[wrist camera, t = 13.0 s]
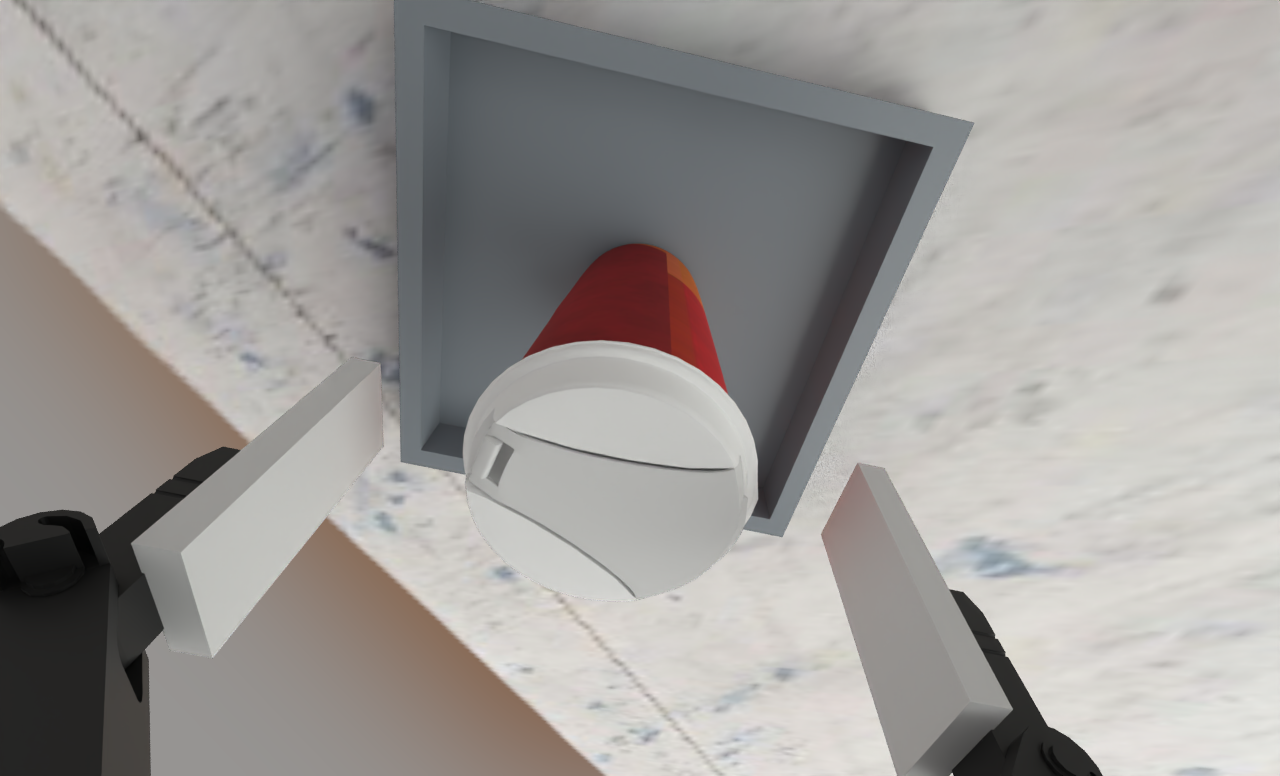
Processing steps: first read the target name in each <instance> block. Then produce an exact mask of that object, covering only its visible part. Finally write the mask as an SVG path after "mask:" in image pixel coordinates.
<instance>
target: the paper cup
mask: <svg viewBox="0 0 1280 776" xmlns="http://www.w3.org/2000/svg"><path fill="white" fill-rule="evenodd" d="M463 461H464V470H465V474H466V481H465V488H466V496H467V502H468V505H469V508H470V512H471V515H472V518H473V521H474V523H475V524H476V526H477V528H478V530H479V532H480V534H481V536H482V537H483V538H484V540H485V541H486V542H487V544H488V545H489V546H490V548H491V549H492V550H493V551H494V552H495V553H496V554H497V555H498V556H499V557H500V558H501V559H502V560H503V561H504V562H505V563H506V564H508V565H509V566H510V567H512V568H513V569H514V570H516V571H517V572H518V573H520V574H521V575H523V576H525V577H526V578H528V579H530V580H532V581H533V582H535V583H537V584H539V585H542V586H544V587H546V588H549V589H551V590H553V591H556V592H560V593H563V594H566V595H569V596H573V597H578V598H583V599H588V600H597V601H608V602H619V601H635V600H637V599H638V600H640V599H644V598H647V597H651V596H654V595H658V594H662V593H665V592H667V591H670V590H673V589H676V588H679V587H682V586H683V585H685V584H687V583H689V582H691V581H693V580H695V579H697V578H698V577H699V576H701V575H702V574H703V573H704V572H706V571H707V570H708V569H710V567H711V566H712V565H713V564H715V563H716V562H718V561H719V560H720V559H721V558H723V557H724V556H725V555H726V554H727V552H728V551H729V550H730V549H731V548H732V547H733V545H734V544H735V543H736V541H737V540H738V538H739V536H740V535H741V533H742V531H743V528H744V525H745V524H746V522H747V521H748V519H749V518H750V517H751V515H752V512H753V510H754V508H755V505H756V503H757V501H758V458H757V453H756V448H755V442H754V439H753V436H752V434H751V431H750V428H749V426H748V423H747V421H746V419H745V418H744V416H743V414H742V413H741V411H740V410H739V408H738V407H737V405H736V403H735V402H734V401H733V400H732V399H731V397H730V396H729V395H728V392H727V388H726V385H725V381H724V378H723V374H722V371H721V367H720V363H719V360H718V356H717V353H716V349H715V346H714V342H713V339H712V335H711V332H710V328H709V325H708V321H707V318H706V314H705V311H704V308H703V304H702V301H701V298H700V295H699V292H698V289H697V286H696V284H695V282H694V280H693V277H692V276H691V274H690V272H689V271H688V269H687V268H686V267H685V266H684V264H683V263H682V262H681V261H680V260H679V259H678V258H676V257H675V256H674V255H672V254H671V253H669V252H668V251H666V250H664V249H661V248H659V247H656V246H653V245H648V244H627V245H622V246H618V247H616V248H613V249H611V250H609V251H607V252H605V253H604V254H602V255H601V256H599V257H598V258H597V259H596V260H595V261H594V262H593V263H592V264H591V265H590V266H589V267H588V268H587V270H586V271H585V272H584V273H583V275H582V276H581V277H580V278H579V280H578V281H577V283H576V284H575V285H574V287H573V288H572V289H571V291H570V292H569V293H568V295H567V296H566V297H565V298H564V300H563V301H562V302H561V304H560V305H559V306H558V308H557V309H556V311H555V312H554V314H553V315H552V317H551V319H550V320H549V322H548V323H547V324H546V326H545V327H544V329H543V330H542V332H541V333H540V334H539V336H538V337H537V339H536V340H535V341H534V343H533V344H532V346H531V347H530V349H529V350H528V351H527V353H526V354H525V356H524V357H523V359H522V360H521V361H519V362H517V363H516V364H514V365H512V366H510V367H509V368H508V369H506V370H505V371H504V372H503V373H502V374H501V375H499V376H498V377H497V378H496V379H495V380H494V381H492V382H491V384H490V385H489V386H488V387H487V389H486V390H485V391H484V392H483V394H482V395H481V396H480V397H479V399H478V401H477V403H476V405H475V407H474V408H473V410H472V412H471V414H470V416H469V419H468V423H467V426H466V430H465V433H464V442H463Z"/></svg>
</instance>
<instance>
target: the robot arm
mask: <svg viewBox="0 0 1280 776" xmlns="http://www.w3.org/2000/svg"><path fill="white" fill-rule="evenodd" d="M383 446H384V444H383V415H382V387H381V363H378V362H373V361H368V360H364V359H359V358H354V357H351V358H350V359H349V360H347V361H346V362H345V363H344V364H343V365H341V366H340V367H339V368H338V369H337V370H336V371H334V372H333V373H332V374H331V375H330V376H328V377H327V378H326V379H325V380H324V381H322V382H321V383H320V384H319V385H318V386H317V387H315V388H314V389H313V390H312V391H311V392H309V393H308V394H307V395H306V396H305V397H304V398H302V399H301V400H300V401H299V402H298V403H296V404H295V405H294V406H293V407H292V408H291V409H289V410H288V411H287V412H286V413H285V414H283V415H282V416H281V417H280V418H279V419H278V420H276V421H275V422H274V423H273V424H272V425H270V426H269V427H268V428H267V429H266V430H264V431H263V432H262V433H261V434H260V435H259V436H257V437H256V438H255V439H254V440H253V441H251V442H250V443H249V444H248V445H247V446H246V447H244V448H243V449H242V450H238V449H232V448H227V447H221V448H219V449H217V450H215V451H212V452H210V453H208V454H205V455H203V456H201V457H199V458H196V459H194V460H193V461H192V462H191V463H189V464H188V465H187V466H186V467H184V468H183V469H182V470H181V471H179V472H178V473H177V474H175V475H174V477H173V479H172V480H171V479H169V480H168V481H166V482H165V483H164V484H163V485H161V486H160V487H159V488H157V489H156V492H155V493H154V494H152V493H151V494H150V495H149V496H147V497H146V498H145V499H143V500H142V501H141V502H140V503H138V504H137V505H136V506H135V507H133V508H132V509H131V510H129V511H128V512H127V513H125V514H124V515H123V516H122V517H120V518H119V519H118V520H117V521H115V522H114V523H113V524H112V525H110V526H109V527H108V528H106V529H105V530H104V531H102V532H101V533H100V534H99V533H98V531H97V528H96V526H95V523H94V521H93V518H92V517H90V516H88V515H86V514H84V513H82V512H79V511H69V510H57V511H48V512H40V513H37V514H33V515H30V516H26V517H23V518H19V519H16V520H14V521H12V522H10V523H8V524H6V525H4V526H2V527H0V776H151V769H150V768H151V767H150V712H149V660H148V657H147V654H146V651H145V649H146V648H147V646H148V645H149V644H150V643H151V642H152V641H153V640H154V639H155V638H156V637H157V636H158V635H159V634H160V633H161V632H162V631H163V633H164V636H165V639H166V641H167V644H168V647H169V650H170V651H176V652H181V653H187V654H192V655H198V656H203V657H209V658H213V657H214V656H215V655H216V653H217V652H218V651H219V650H220V648H221V647H222V645H224V643H225V642H226V641H227V640H228V638H229V637H230V636H231V635H232V633H233V632H234V631H235V630H236V629H237V627H238V626H239V625H240V624H241V622H242V621H243V620H244V619H245V617H246V616H247V615H248V614H249V612H250V611H251V610H252V609H253V607H254V606H255V605H256V604H257V602H258V601H259V600H260V599H261V598H262V596H263V595H264V594H265V592H266V591H267V590H268V589H269V587H270V586H271V585H272V584H273V583H274V581H275V580H276V579H277V578H278V576H279V575H280V574H281V573H282V572H283V570H284V569H285V568H286V567H287V565H288V564H289V563H290V562H291V560H292V559H293V558H294V557H295V555H296V554H297V553H298V552H299V550H300V549H301V548H302V547H303V545H304V544H305V543H306V542H307V541H308V539H309V538H310V537H311V536H312V534H313V533H314V532H315V531H316V529H317V528H318V527H319V526H320V524H321V523H322V522H323V521H324V519H325V518H326V517H327V516H328V514H329V513H330V512H331V511H332V510H333V508H334V507H335V506H336V505H337V503H338V502H339V501H340V500H341V498H342V497H343V496H344V495H345V493H346V492H347V491H348V490H349V488H350V487H351V486H352V485H353V483H354V482H355V481H356V480H357V479H358V477H359V476H360V475H361V474H362V472H363V471H364V470H365V469H366V467H367V466H368V465H369V464H370V462H371V461H372V460H373V459H374V457H375V456H376V455H377V454H378V452H379V451H380V450H381V449H382V448H383ZM821 536H822V539H823V542H824V545H825V548H826V552H827V555H828V558H829V561H830V564H831V567H832V571H833V574H834V577H835V580H836V583H837V586H838V590H839V593H840V596H841V599H842V602H843V605H844V609H845V612H846V615H847V618H848V621H849V624H850V628H851V631H852V634H853V637H854V640H855V643H856V647H857V650H858V653H859V656H860V659H861V662H862V666H863V669H864V672H865V675H866V678H867V681H868V685H869V688H870V691H871V694H872V697H873V700H874V704H875V707H876V710H877V713H878V716H879V719H880V723H881V726H882V729H883V732H884V735H885V738H886V742H887V745H888V748H889V751H890V754H891V757H892V761H893V764H894V767H895V770H896V773H897V776H949V775H950V774H951V773H953V775H954V776H1102V774H1101V772H1100V770H1099V768H1098V767H1097V765H1096V764H1095V763H1094V762H1093V760H1092V759H1091V758H1090V757H1089V756H1088V754H1087V753H1086V752H1085V751H1084V750H1083V749H1082V748H1081V747H1079V746H1078V745H1077V744H1076V743H1075V742H1074V741H1073V740H1071V739H1070V738H1069V737H1067V736H1066V735H1064V734H1062V733H1060V732H1059V731H1057V730H1055V729H1054V728H1050V727H1048V726H1047V724H1046V722H1045V721H1044V719H1043V717H1042V715H1041V714H1040V712H1039V710H1038V708H1037V707H1036V705H1035V703H1034V701H1033V700H1032V698H1031V696H1030V694H1029V693H1028V691H1027V689H1026V688H1025V686H1024V684H1023V682H1022V681H1021V679H1020V677H1019V675H1018V674H1017V672H1016V670H1015V668H1014V667H1013V665H1012V663H1011V661H1010V660H1009V658H1008V657H1006V656H1005V651H1004V649H1003V647H1002V646H1001V644H1000V642H999V640H998V639H995V633H994V632H993V630H992V628H991V626H990V625H989V623H988V621H987V619H986V618H985V616H984V614H983V613H982V612H981V611H980V609H979V608H978V607H977V606H976V605H975V604H974V603H973V602H972V601H971V600H970V599H969V598H968V597H967V596H966V595H965V593H964V592H960V591H955V590H950V589H949V588H948V587H947V585H946V583H945V581H944V579H943V577H942V575H941V573H940V572H939V570H938V568H937V566H936V564H935V562H934V560H933V558H932V557H931V555H930V553H929V551H928V549H927V547H926V545H925V543H924V542H923V540H922V538H921V536H920V534H919V532H918V530H917V528H916V527H915V525H914V523H913V521H912V519H911V517H910V515H909V513H908V512H907V510H906V508H905V506H904V504H903V502H902V500H901V498H900V497H899V495H898V493H897V491H896V489H895V487H894V485H893V483H892V482H891V480H890V478H889V476H888V474H887V472H886V470H885V468H881V467H876V466H872V465H867V464H862V463H857V465H856V467H855V469H854V471H853V473H852V475H851V477H850V479H849V481H848V483H847V485H846V487H845V488H844V490H843V492H842V494H841V496H840V498H839V500H838V502H837V504H836V506H835V508H834V510H833V512H832V514H831V516H830V518H829V520H828V522H827V524H826V526H825V527H824V529H823V531H822V533H821Z"/></svg>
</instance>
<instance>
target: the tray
mask: <svg viewBox="0 0 1280 776" xmlns="http://www.w3.org/2000/svg"><path fill="white" fill-rule="evenodd" d="M394 37H395V105H396V173H397V240H398V308H399V375H400V443H401V462H404V463H409V464H414V465H419V466H424V467H429V468H434V469H439V470H444V471H449V472H455V473H460V474H465V470H464V461H463V442H464V433H465V430H466V426H467V423H468V419H469V416H470V414H471V412H472V410H473V408H474V407H475V405H476V403H477V401H478V399H479V397H480V396H481V395H482V394H483V392H484V391H485V390H486V389H487V387H488V386H489V385H490V384H491V382H492V381H494V380H495V379H496V378H497V377H498V376H499V375H501V374H502V373H503V372H504V371H505V370H506V369H508V368H509V367H510V366H512V365H514V364H516V363H517V362H519V361H521V360H522V359H523V357H524V356H525V354H526V353H527V351H528V350H529V349H530V347H531V346H532V344H533V343H534V341H535V340H536V339H537V337H538V336H539V334H540V333H541V332H542V330H543V329H544V327H545V326H546V324H547V323H548V322H549V320H550V319H551V317H552V315H553V314H554V312H555V311H556V309H557V308H558V306H559V305H560V304H561V302H562V301H563V300H564V298H565V297H566V296H567V295H568V293H569V292H570V291H571V289H572V288H573V287H574V285H575V284H576V283H577V281H578V280H579V278H580V277H581V276H582V275H583V273H584V272H585V271H586V270H587V268H588V267H589V266H590V265H591V264H592V263H593V262H594V261H595V260H596V259H597V258H598V257H599V256H601V255H602V254H604V253H605V252H607V251H609V250H611V249H613V248H616V247H618V246H622V245H627V244H648V245H653V246H656V247H659V248H661V249H664V250H666V251H668V252H669V253H671V254H672V255H674V256H675V257H676V258H678V259H679V260H680V261H681V262H682V263H683V264H684V266H685V267H686V268H687V269H688V271H689V272H690V274H691V276H692V277H693V280H694V282H695V284H696V286H697V289H698V292H699V295H700V298H701V301H702V304H703V308H704V311H705V314H706V318H707V321H708V325H709V328H710V332H711V335H712V339H713V342H714V346H715V349H716V353H717V356H718V360H719V363H720V367H721V371H722V374H723V378H724V381H725V385H726V388H727V392H728V395H729V396H730V397H731V399H732V400H733V401H734V402H735V403H736V405H737V407H738V408H739V410H740V411H741V413H742V414H743V416H744V418H745V419H746V421H747V423H748V426H749V428H750V431H751V434H752V436H753V439H754V442H755V448H756V453H757V458H758V501H757V503H756V505H755V508H754V510H753V512H752V515H751V517H750V518H749V519H748V521H747V522H746V524H745V525H744V528H743V529H744V530H749V531H754V532H759V533H764V534H769V535H774V536H779V537H783V535H784V532H785V530H786V528H787V526H788V524H789V522H790V519H791V517H792V515H793V513H794V511H795V509H796V507H797V504H798V502H799V500H800V498H801V496H802V494H803V491H804V489H805V487H806V485H807V483H808V481H809V479H810V476H811V474H812V472H813V470H814V468H815V466H816V463H817V461H818V459H819V457H820V455H821V453H822V450H823V448H824V446H825V444H826V442H827V440H828V438H829V435H830V433H831V431H832V429H833V427H834V425H835V422H836V420H837V418H838V416H839V414H840V412H841V410H842V407H843V405H844V403H845V401H846V399H847V397H848V394H849V392H850V390H851V388H852V386H853V384H854V381H855V379H856V377H857V375H858V373H859V371H860V369H861V366H862V364H863V362H864V360H865V358H866V356H867V353H868V351H869V349H870V347H871V345H872V343H873V341H874V338H875V336H876V334H877V332H878V330H879V328H880V325H881V323H882V321H883V319H884V317H885V315H886V312H887V310H888V308H889V306H890V304H891V302H892V300H893V297H894V295H895V293H896V291H897V289H898V287H899V284H900V282H901V280H902V278H903V276H904V274H905V272H906V269H907V267H908V265H909V263H910V261H911V259H912V256H913V254H914V252H915V250H916V248H917V246H918V243H919V241H920V239H921V237H922V235H923V233H924V231H925V228H926V226H927V224H928V222H929V220H930V218H931V215H932V213H933V211H934V209H935V207H936V205H937V203H938V200H939V198H940V196H941V194H942V192H943V190H944V187H945V185H946V183H947V181H948V179H949V177H950V174H951V172H952V170H953V168H954V166H955V164H956V162H957V159H958V157H959V155H960V153H961V151H962V149H963V146H964V144H965V142H966V140H967V138H968V136H969V134H970V131H971V129H972V127H973V125H974V123H973V122H969V121H965V120H961V119H957V118H953V117H949V116H945V115H940V114H936V113H932V112H928V111H924V110H920V109H916V108H912V107H908V106H903V105H899V104H895V103H891V102H887V101H883V100H879V99H875V98H870V97H866V96H862V95H858V94H854V93H850V92H846V91H842V90H838V89H833V88H829V87H825V86H821V85H817V84H813V83H809V82H805V81H800V80H796V79H792V78H788V77H784V76H780V75H776V74H772V73H768V72H763V71H759V70H755V69H751V68H747V67H743V66H739V65H735V64H730V63H726V62H722V61H718V60H714V59H710V58H706V57H702V56H698V55H693V54H689V53H685V52H681V51H677V50H673V49H669V48H665V47H661V46H656V45H652V44H648V43H644V42H640V41H636V40H632V39H628V38H623V37H619V36H615V35H611V34H607V33H603V32H599V31H595V30H591V29H586V28H582V27H578V26H574V25H570V24H566V23H562V22H558V21H553V20H549V19H545V18H541V17H537V16H533V15H529V14H525V13H521V12H516V11H512V10H508V9H504V8H500V7H496V6H492V5H488V4H483V3H479V2H475V1H471V0H394ZM465 475H466V474H465Z"/></svg>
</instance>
